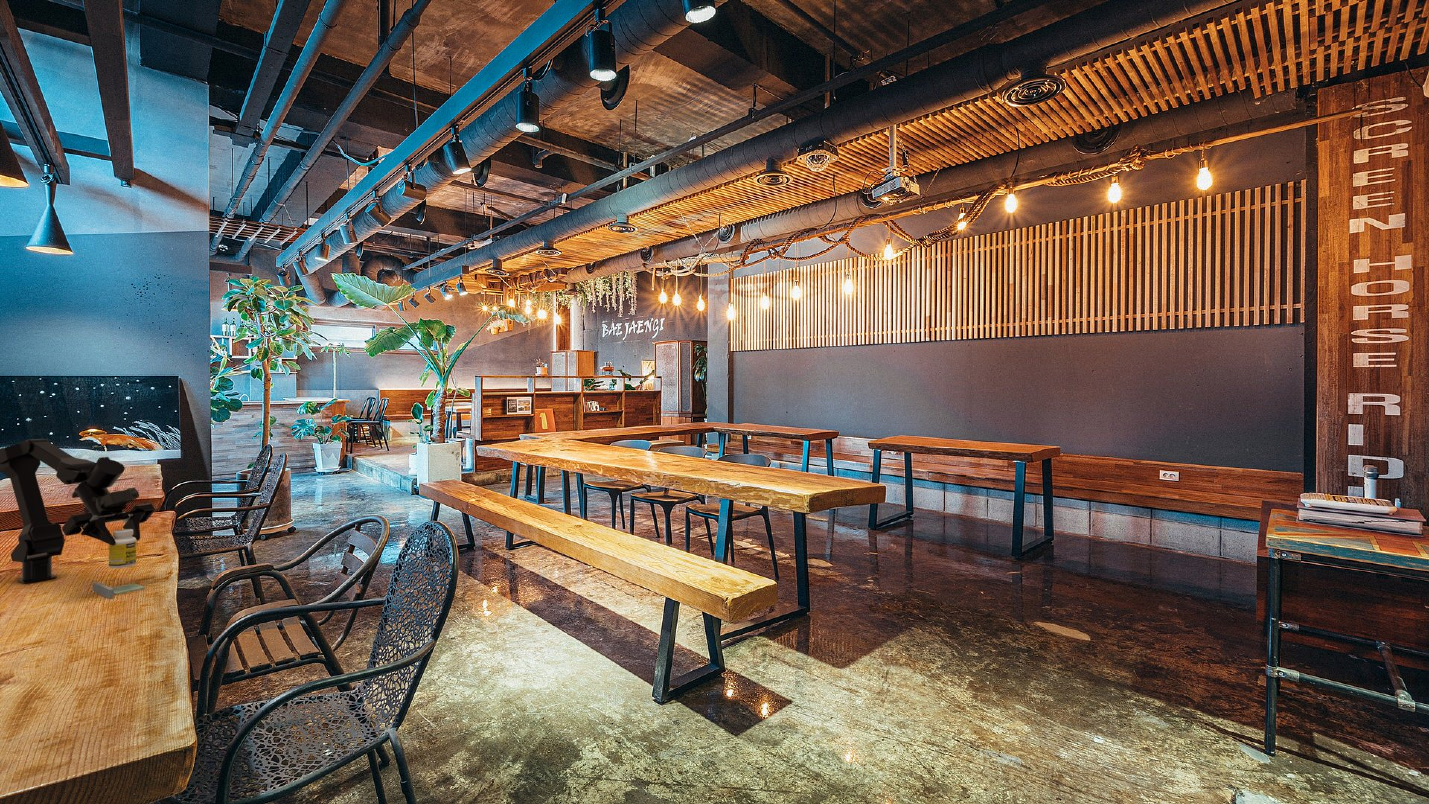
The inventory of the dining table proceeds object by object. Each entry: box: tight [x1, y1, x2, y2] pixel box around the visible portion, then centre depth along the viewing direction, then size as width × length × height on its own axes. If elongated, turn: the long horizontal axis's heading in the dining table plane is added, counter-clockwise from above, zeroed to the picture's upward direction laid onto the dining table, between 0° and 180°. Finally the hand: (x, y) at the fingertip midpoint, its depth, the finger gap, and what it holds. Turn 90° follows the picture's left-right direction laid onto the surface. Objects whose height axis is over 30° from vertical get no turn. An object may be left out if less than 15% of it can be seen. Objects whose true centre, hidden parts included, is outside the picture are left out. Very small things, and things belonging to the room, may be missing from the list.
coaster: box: [111, 582, 145, 595], centre depth 169 cm, size 7×6×1 cm
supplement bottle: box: [108, 528, 137, 569], centre depth 168 cm, size 5×5×10 cm
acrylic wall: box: [92, 581, 115, 600], centre depth 164 cm, size 12×1×2 cm, turn 60°
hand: (126, 542), depth 168 cm, fingers closed on supplement bottle, 5 cm apart
